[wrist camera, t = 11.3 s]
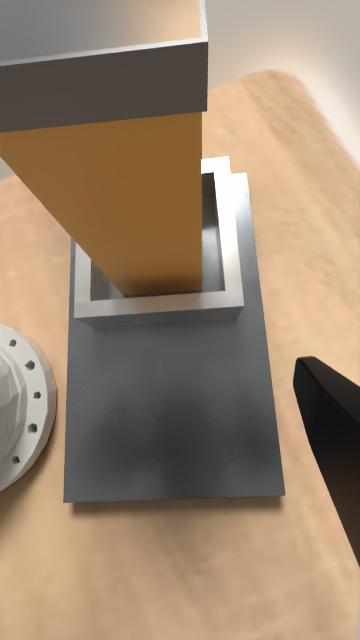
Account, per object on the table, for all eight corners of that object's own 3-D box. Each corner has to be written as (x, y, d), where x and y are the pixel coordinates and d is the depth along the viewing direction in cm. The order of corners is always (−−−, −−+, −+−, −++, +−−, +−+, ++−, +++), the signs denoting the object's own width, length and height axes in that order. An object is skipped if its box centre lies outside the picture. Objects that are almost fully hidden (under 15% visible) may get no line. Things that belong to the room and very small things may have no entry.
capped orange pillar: (204, 291, 17) (208, 41, 5) (120, 296, 17) (-83, 75, 5) (199, 215, 18) (192, -151, 6) (120, 222, 18) (-47, -113, 6)
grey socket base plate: (280, 488, 15) (302, 517, 12) (71, 495, 16) (36, 525, 12) (244, 183, 19) (253, 139, 16) (79, 199, 20) (53, 161, 16)
